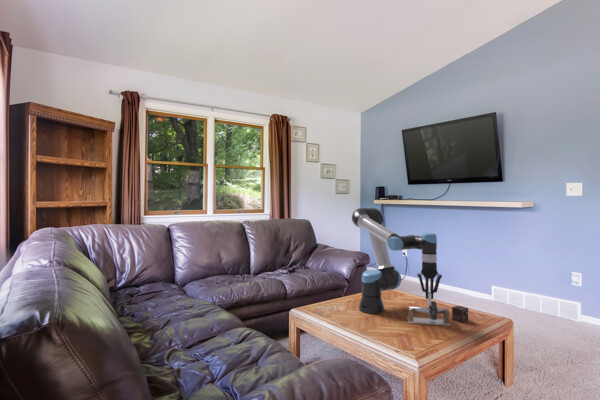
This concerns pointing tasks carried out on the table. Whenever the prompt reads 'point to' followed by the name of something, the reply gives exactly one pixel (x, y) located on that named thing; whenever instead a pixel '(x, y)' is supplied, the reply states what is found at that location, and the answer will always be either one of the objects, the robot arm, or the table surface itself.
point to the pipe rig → (426, 320)
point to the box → (460, 314)
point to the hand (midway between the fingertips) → (429, 304)
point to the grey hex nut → (433, 310)
